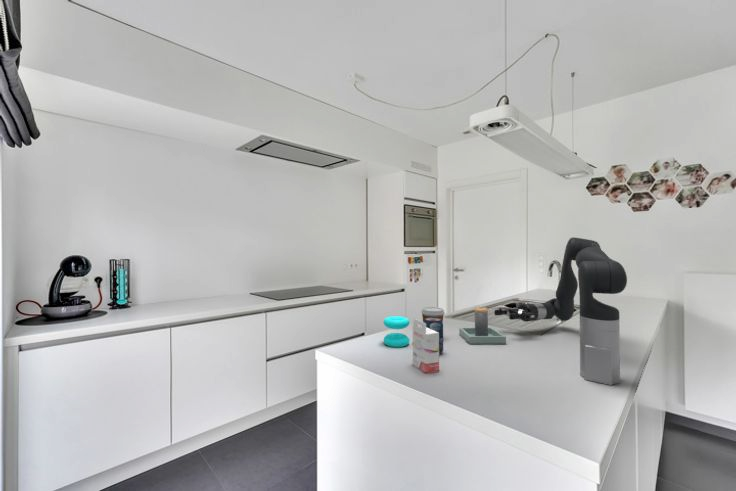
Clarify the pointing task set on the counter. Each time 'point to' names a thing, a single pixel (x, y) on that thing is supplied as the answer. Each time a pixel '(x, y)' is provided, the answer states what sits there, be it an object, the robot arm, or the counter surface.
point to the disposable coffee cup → (432, 313)
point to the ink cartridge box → (425, 347)
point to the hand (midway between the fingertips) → (502, 314)
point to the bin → (482, 337)
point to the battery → (481, 321)
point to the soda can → (436, 329)
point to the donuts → (396, 338)
